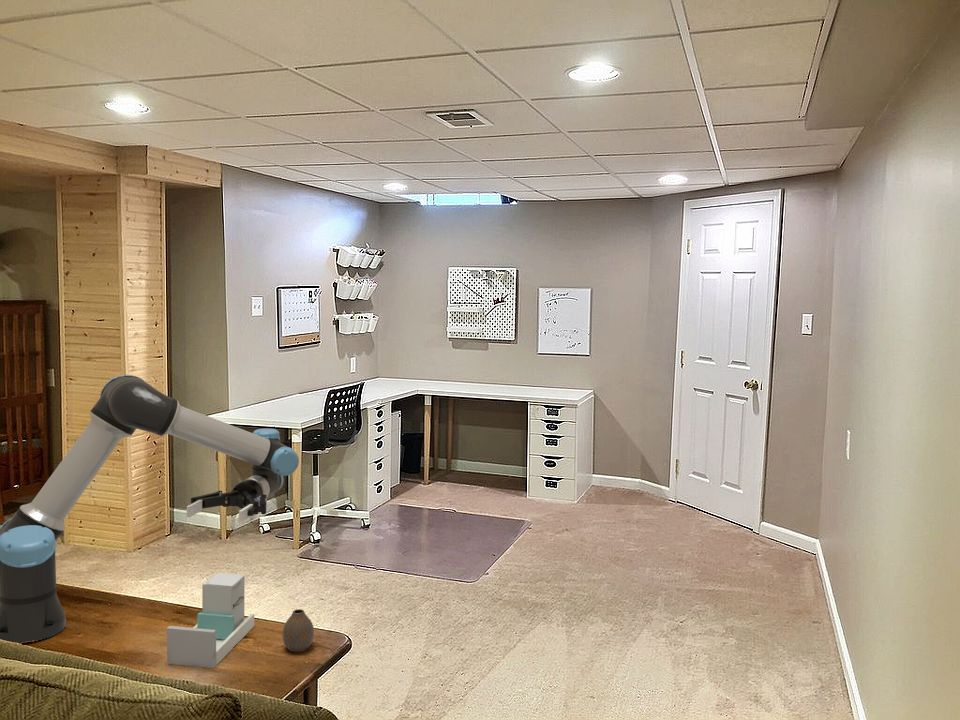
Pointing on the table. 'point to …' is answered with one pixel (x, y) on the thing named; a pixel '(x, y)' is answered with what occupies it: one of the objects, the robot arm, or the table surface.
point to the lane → (202, 644)
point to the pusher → (216, 623)
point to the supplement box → (224, 596)
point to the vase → (298, 631)
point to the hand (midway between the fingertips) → (213, 514)
